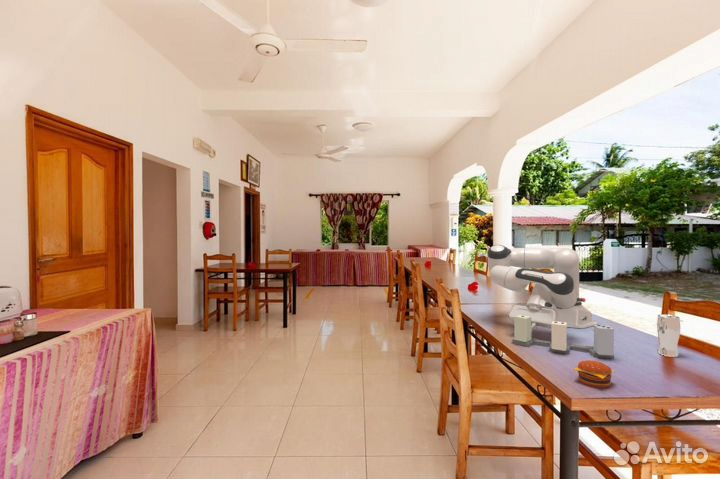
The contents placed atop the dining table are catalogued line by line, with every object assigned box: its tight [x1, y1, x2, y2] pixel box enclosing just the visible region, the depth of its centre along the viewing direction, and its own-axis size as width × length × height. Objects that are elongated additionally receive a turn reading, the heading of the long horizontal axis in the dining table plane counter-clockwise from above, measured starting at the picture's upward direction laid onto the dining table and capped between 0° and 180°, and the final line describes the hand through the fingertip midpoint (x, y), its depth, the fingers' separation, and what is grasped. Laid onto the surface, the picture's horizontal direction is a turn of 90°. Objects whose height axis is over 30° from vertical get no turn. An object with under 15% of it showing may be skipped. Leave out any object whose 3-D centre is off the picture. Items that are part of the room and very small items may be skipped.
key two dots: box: [551, 321, 568, 351], centre depth 145 cm, size 5×5×10 cm
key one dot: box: [513, 315, 532, 342], centre depth 156 cm, size 5×5×10 cm
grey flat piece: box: [511, 337, 615, 359], centre depth 150 cm, size 12×36×2 cm, turn 57°
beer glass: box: [656, 313, 681, 358], centre depth 141 cm, size 7×7×15 cm
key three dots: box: [593, 324, 615, 357], centre depth 139 cm, size 5×5×10 cm
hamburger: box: [573, 359, 616, 389], centre depth 117 cm, size 9×10×7 cm
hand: (527, 331), depth 159 cm, fingers closed
